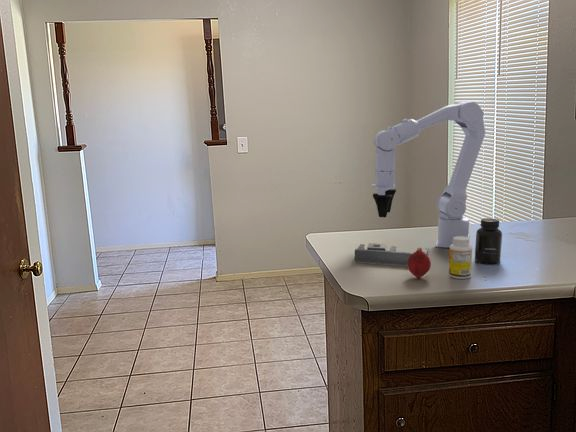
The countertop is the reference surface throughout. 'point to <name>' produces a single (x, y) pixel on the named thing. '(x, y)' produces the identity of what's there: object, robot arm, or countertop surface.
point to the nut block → (376, 246)
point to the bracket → (383, 256)
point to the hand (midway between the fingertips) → (384, 214)
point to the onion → (419, 263)
